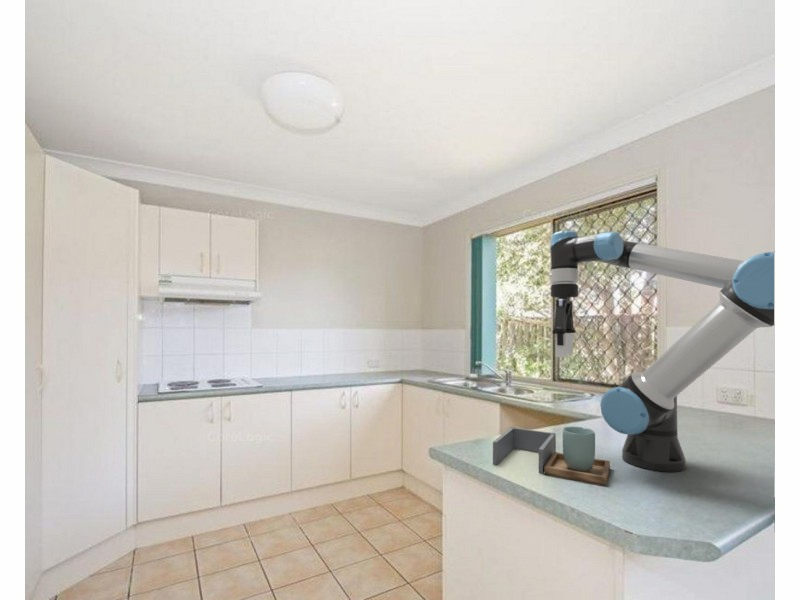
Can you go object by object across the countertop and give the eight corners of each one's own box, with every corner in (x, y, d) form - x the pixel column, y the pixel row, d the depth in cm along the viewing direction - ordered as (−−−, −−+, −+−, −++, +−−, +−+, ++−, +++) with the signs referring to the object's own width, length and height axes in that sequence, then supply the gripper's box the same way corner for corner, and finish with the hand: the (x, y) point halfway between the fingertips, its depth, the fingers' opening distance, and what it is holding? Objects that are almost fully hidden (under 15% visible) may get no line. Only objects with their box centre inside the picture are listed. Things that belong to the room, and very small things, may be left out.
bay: (555, 454, 122) (555, 433, 122) (542, 473, 106) (542, 449, 106) (511, 446, 129) (511, 427, 129) (492, 464, 113) (492, 441, 113)
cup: (599, 476, 103) (598, 435, 104) (565, 473, 105) (565, 433, 105) (591, 465, 111) (590, 427, 111) (560, 463, 113) (560, 425, 113)
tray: (609, 468, 111) (609, 460, 111) (606, 486, 98) (605, 477, 99) (554, 459, 118) (554, 452, 118) (544, 474, 105) (544, 466, 106)
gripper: (558, 287, 137) (558, 352, 136) (542, 280, 115) (542, 357, 114) (583, 286, 133) (583, 353, 132) (571, 279, 112) (572, 359, 111)
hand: (564, 355), depth 123 cm, fingers open, 13 cm apart
